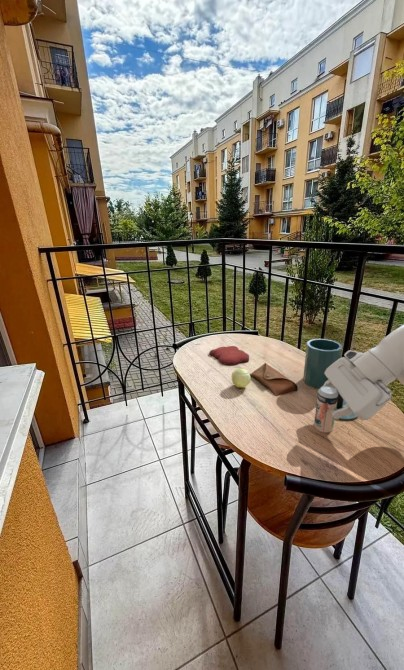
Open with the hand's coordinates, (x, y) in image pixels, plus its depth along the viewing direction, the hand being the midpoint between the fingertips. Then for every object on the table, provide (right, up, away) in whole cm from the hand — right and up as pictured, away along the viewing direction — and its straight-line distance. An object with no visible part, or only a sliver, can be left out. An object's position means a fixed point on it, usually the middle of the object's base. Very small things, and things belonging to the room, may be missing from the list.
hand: (326, 405), depth 73 cm
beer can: (0, -7, +3) cm, 7 cm away
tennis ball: (-19, 0, +24) cm, 31 cm away
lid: (+8, -3, +10) cm, 13 cm away
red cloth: (-20, +9, +48) cm, 53 cm away
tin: (+9, +2, +25) cm, 26 cm away
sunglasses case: (-8, +1, +26) cm, 27 cm away
